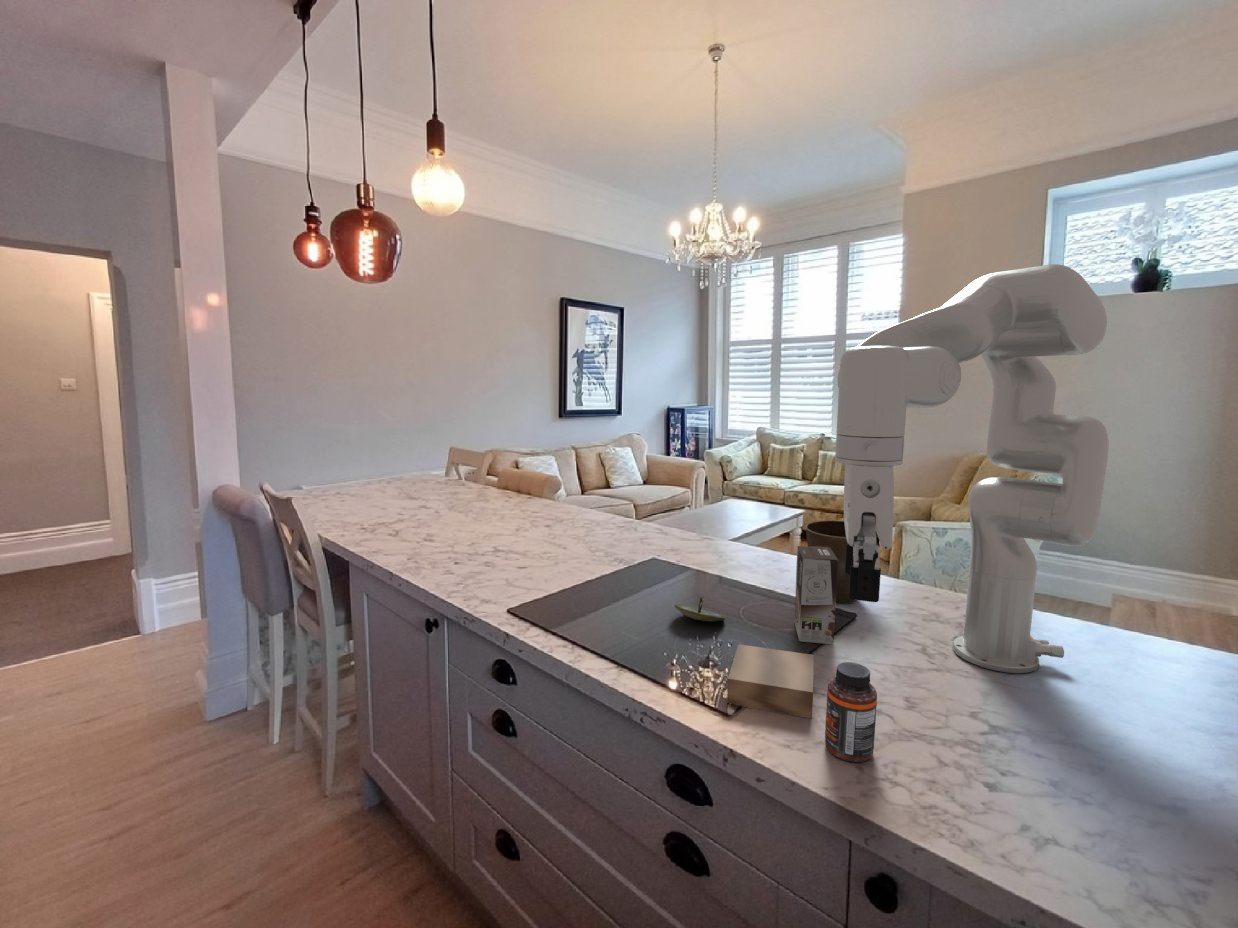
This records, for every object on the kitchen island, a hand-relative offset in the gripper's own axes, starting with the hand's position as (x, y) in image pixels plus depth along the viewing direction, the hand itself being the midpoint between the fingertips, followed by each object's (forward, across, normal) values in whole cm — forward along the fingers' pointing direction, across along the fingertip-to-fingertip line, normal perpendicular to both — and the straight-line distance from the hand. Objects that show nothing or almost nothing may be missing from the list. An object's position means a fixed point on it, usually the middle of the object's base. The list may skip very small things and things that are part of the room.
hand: (860, 586), depth 71 cm
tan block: (+22, +12, +11) cm, 28 cm away
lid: (+22, +35, +27) cm, 49 cm away
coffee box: (+22, +36, +5) cm, 43 cm away
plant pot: (+22, +57, 0) cm, 61 cm away
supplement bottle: (+22, 0, 0) cm, 23 cm away
